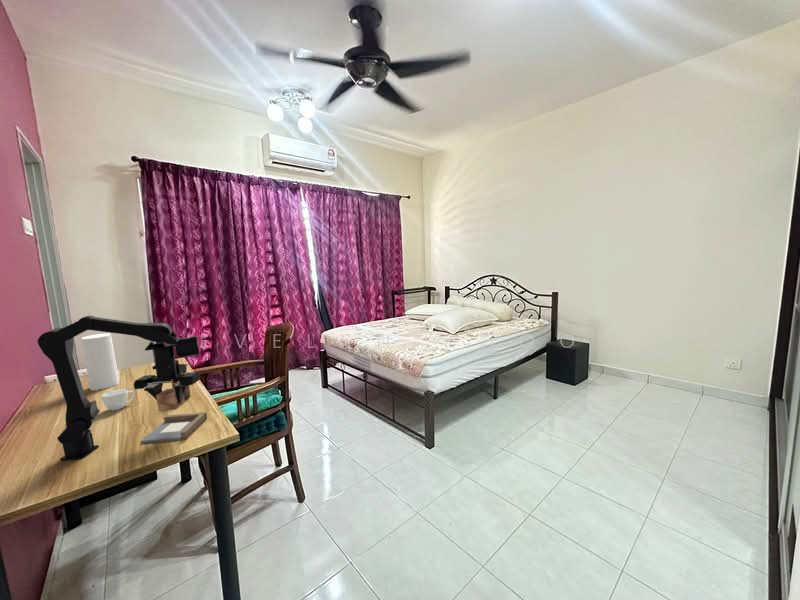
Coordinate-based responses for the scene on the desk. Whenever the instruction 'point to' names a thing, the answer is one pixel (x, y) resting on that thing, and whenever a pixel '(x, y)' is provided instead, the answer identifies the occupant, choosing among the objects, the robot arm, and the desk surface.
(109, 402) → the cup
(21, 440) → the desk surface
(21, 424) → the desk surface
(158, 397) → the cube
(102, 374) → the tall pillar cylinder
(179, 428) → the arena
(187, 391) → the supplement bottle
